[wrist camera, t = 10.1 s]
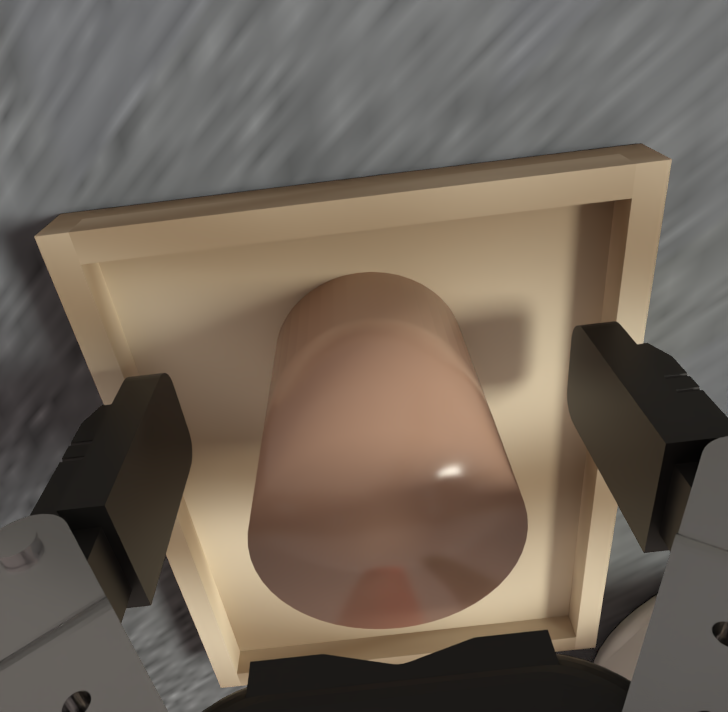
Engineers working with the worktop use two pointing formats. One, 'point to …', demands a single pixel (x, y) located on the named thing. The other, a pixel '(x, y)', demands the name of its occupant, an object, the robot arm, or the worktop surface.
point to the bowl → (626, 642)
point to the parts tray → (387, 255)
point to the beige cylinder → (380, 462)
